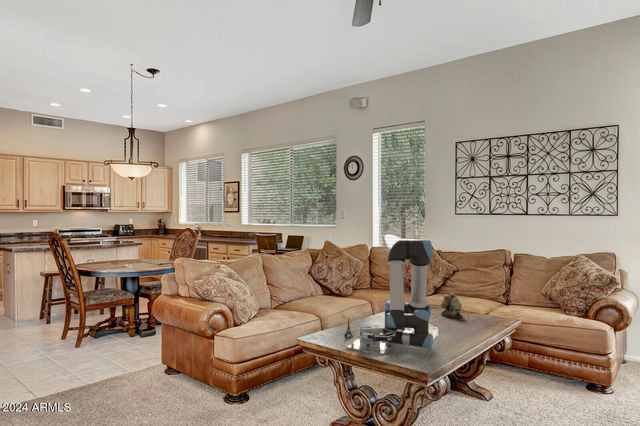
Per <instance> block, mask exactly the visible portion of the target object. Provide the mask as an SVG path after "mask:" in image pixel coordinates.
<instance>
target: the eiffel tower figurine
mask: <svg viewBox="0 0 640 426" xmlns="http://www.w3.org/2000/svg"><path fill="white" fill-rule="evenodd" d="M347 319H348V321H347V329H346V332H345V333H342V335H343V336H344V339H354V337H357V336H358V339H360V335H357V334H354V333H352V332H351V328H350V317H348V318H347ZM335 336H336V337H338V336H340V334H337V335H335Z"/></svg>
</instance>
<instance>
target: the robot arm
mask: <svg viewBox="0 0 640 426" xmlns="http://www.w3.org/2000/svg"><path fill="white" fill-rule="evenodd" d="M433 260H434V251H433V244H432V241H431V240H430V239H425V238H415V239H413V238H411V239H409V238H402V239H399V240H397V241H396V242H395V243H394V244H393V245H392V246H391V248H390V249H389V252H388V255H387V264H388V265H389V300H387V301H385V303H384V326H383V327H380V326H378V327H379V328H380V335H375V334H369V333H362V338H367V339H373V341H380V342H386V341H388V343H394V344H395V343H396V344H398V345H404V346H408V347H410V346H411V347H415V348H421V349H432V347H433V346H434V336H433V334H432V333H430V331H429V322H430V320H431V319H430V318H431V310H432V305H431V303H430V302H429V301H428V299H427V282H428V281H427V280H428V279H427V278H428V266H429V265H430V264H431V261H433ZM406 261H408V262H409V264H410V265H411V288H410V290H411V291H410V297H409V299H407V300H408V301H407V302H405V294H404V293H405V292H404V291H405V288H404V287H405V283H404V273H405V272H404V265H406ZM406 329H413V331H412V330H406Z"/></svg>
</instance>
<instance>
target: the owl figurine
mask: <svg viewBox="0 0 640 426" xmlns="http://www.w3.org/2000/svg"><path fill="white" fill-rule="evenodd" d="M440 306H441V308H442V309H445V310H443V311H441V313H440V316H442V317H443V318H446V319H447V318H448V319H453V320H461V319H463V318H464V316H463V314H461V310H462V303H461V301H460V300H459V298H458V297H457V296H456V294H455V293H454V292H450V293H448V294H447V293H446V294H444V295H443V299H442V301H441V303H440Z"/></svg>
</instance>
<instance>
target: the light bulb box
mask: <svg viewBox="0 0 640 426" xmlns="http://www.w3.org/2000/svg"><path fill="white" fill-rule="evenodd" d="M379 327H380V326H379V325H378V324H376V325H372V324H371V325H370V324H369V325H360V326H359V336H360V338H359V339H360V345H361V347H362V348H371V347H380V343H381V341H373V339H367V338H362V333H369V334H375V335H381V333H380V328H381V327H380V328H379Z"/></svg>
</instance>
